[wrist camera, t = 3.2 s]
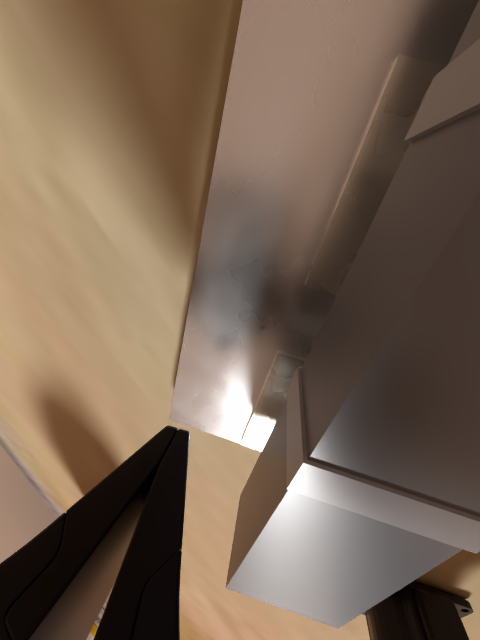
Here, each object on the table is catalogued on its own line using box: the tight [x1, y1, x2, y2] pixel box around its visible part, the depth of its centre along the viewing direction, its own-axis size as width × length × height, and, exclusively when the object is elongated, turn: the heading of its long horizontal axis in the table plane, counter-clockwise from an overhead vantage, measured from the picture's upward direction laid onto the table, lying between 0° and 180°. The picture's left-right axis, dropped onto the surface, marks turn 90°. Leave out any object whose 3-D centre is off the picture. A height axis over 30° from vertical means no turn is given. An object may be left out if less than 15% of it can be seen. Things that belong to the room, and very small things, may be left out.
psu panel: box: [169, 0, 479, 452], centre depth 9 cm, size 18×13×2 cm
